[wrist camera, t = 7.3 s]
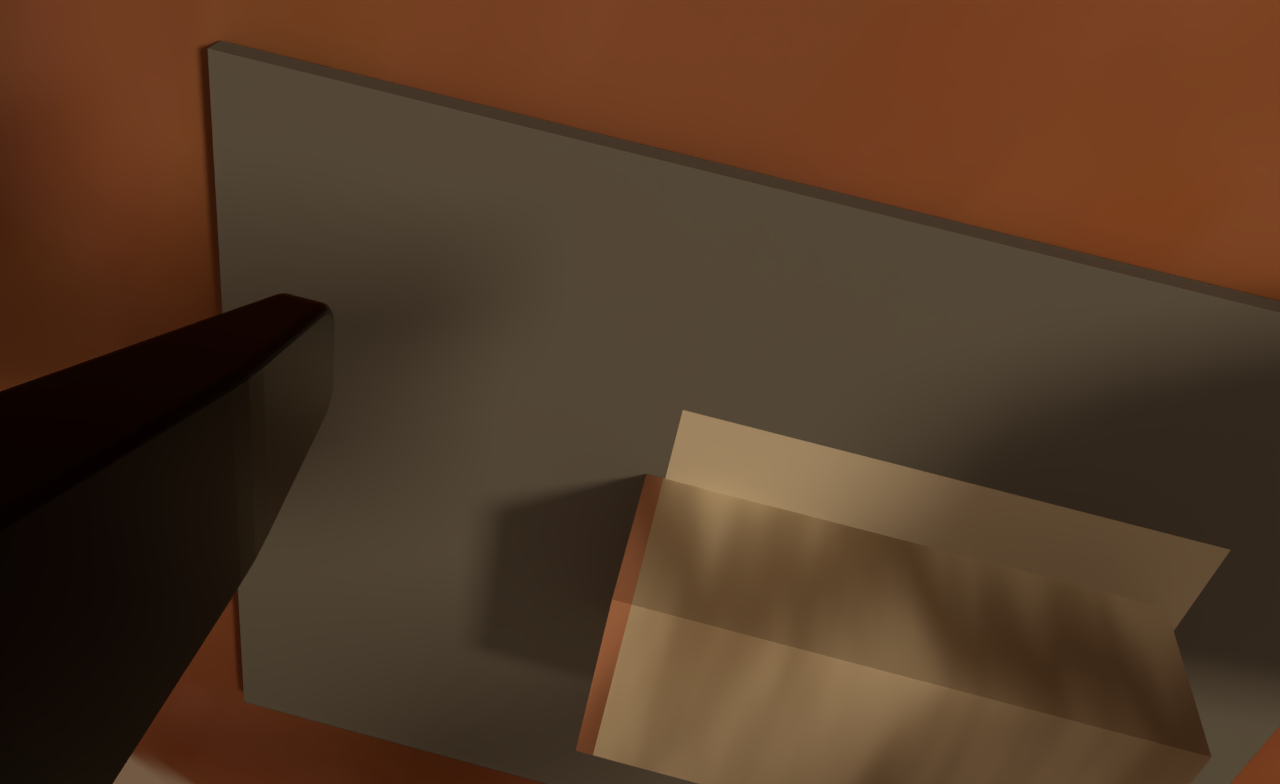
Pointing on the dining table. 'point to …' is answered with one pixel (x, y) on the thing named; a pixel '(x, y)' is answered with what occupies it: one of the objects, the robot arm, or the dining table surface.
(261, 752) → the dining table surface
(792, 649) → the birch pillar
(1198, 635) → the flip mat
